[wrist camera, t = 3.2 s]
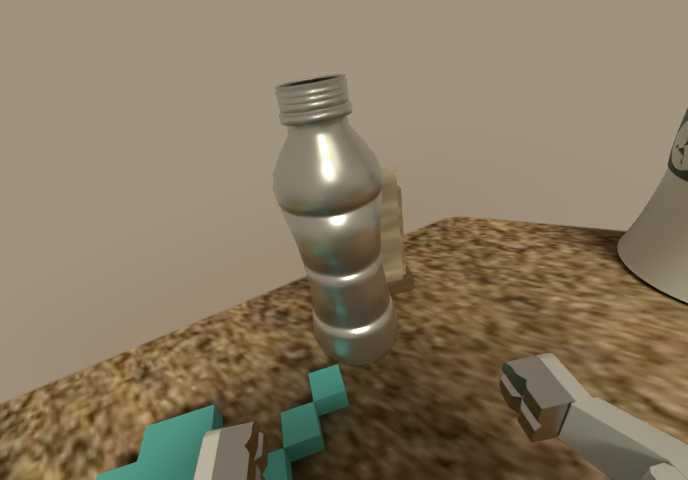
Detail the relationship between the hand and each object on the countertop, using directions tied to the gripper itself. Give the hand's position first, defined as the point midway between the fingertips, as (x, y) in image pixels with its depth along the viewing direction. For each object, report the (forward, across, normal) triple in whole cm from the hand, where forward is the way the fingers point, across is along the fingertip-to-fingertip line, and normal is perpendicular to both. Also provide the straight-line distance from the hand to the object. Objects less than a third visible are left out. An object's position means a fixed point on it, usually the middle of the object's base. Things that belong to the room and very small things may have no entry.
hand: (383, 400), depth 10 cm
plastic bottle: (+12, 0, +12) cm, 17 cm away
